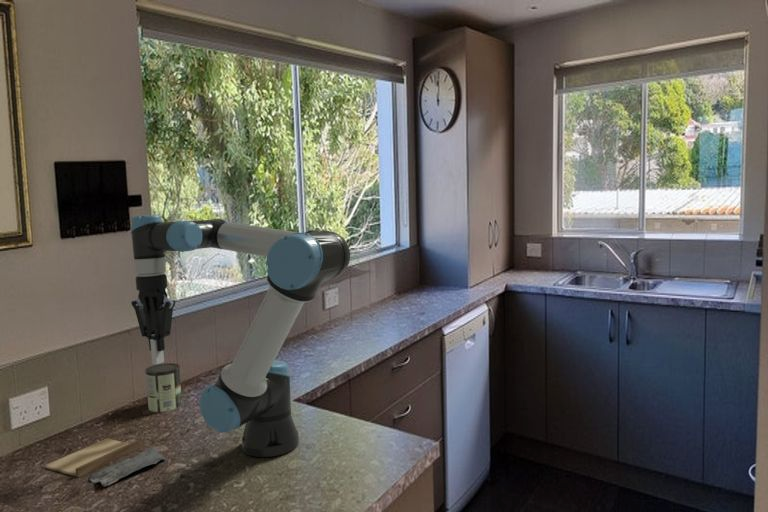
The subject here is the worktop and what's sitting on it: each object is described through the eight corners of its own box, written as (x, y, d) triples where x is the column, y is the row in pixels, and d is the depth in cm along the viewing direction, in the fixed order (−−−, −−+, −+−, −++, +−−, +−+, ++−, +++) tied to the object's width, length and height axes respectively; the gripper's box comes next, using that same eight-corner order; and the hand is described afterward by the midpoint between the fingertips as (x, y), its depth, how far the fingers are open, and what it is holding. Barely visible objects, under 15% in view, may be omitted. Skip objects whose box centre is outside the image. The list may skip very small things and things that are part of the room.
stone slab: (150, 445, 153) (172, 452, 147) (151, 452, 153) (173, 459, 147) (82, 474, 138) (104, 483, 132) (83, 482, 138) (105, 491, 133)
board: (139, 448, 155) (139, 440, 155) (78, 477, 139) (78, 469, 139) (106, 440, 161) (106, 433, 161) (44, 467, 145) (44, 460, 145)
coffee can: (168, 402, 191) (166, 361, 190) (189, 408, 185) (186, 365, 184) (141, 412, 182) (138, 369, 181) (161, 418, 177) (158, 373, 175)
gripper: (180, 272, 150) (187, 360, 152) (142, 272, 155) (149, 358, 157) (159, 276, 144) (167, 368, 145) (120, 276, 148) (128, 365, 150)
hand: (158, 362), depth 151 cm, fingers closed
